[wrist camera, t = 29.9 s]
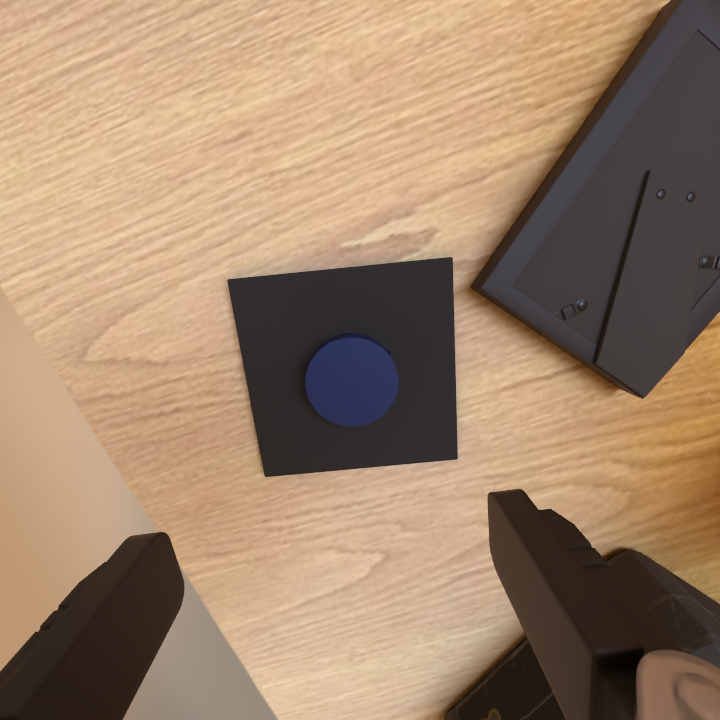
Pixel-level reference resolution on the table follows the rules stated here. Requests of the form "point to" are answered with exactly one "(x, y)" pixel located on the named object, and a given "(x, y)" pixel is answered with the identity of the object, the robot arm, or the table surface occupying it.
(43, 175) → the table surface
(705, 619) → the cash box
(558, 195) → the picture frame
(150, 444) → the table surface
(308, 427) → the mat
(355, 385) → the lid
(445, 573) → the table surface
